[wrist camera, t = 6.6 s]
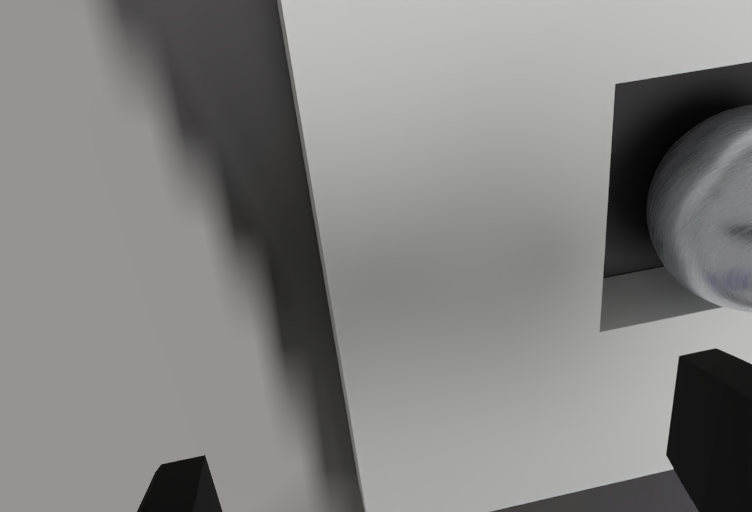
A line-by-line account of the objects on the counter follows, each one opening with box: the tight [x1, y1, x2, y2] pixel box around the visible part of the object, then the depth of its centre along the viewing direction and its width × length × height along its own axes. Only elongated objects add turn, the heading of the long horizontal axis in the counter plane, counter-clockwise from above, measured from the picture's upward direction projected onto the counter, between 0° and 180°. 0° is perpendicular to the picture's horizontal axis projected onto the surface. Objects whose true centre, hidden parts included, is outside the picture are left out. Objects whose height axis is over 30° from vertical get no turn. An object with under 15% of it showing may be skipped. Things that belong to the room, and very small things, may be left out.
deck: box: [277, 0, 752, 512], centre depth 17 cm, size 16×15×4 cm
